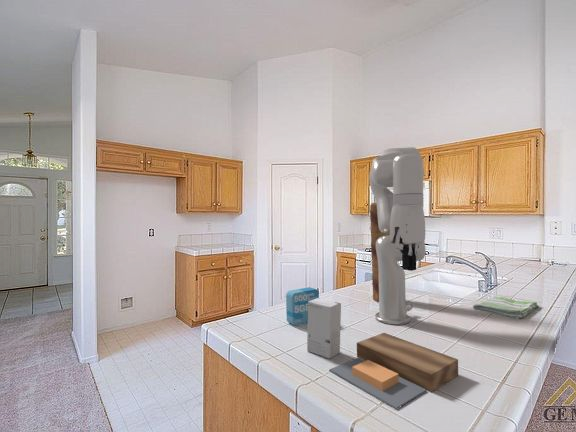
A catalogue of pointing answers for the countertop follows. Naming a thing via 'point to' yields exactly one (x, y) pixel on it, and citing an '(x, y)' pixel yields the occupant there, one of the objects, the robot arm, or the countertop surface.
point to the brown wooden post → (374, 236)
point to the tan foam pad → (375, 375)
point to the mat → (390, 396)
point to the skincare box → (324, 327)
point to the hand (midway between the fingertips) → (409, 269)
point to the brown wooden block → (409, 360)
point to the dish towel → (506, 307)
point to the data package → (299, 304)
